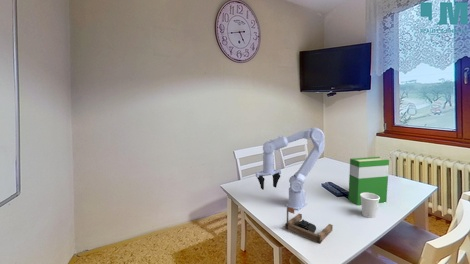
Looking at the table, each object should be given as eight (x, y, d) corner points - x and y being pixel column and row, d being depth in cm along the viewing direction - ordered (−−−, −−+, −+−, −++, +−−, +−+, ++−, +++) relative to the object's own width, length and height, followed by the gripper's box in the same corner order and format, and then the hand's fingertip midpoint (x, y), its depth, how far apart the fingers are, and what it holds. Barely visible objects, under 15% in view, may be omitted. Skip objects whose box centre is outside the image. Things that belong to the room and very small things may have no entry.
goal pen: (298, 218, 111) (299, 197, 110) (332, 230, 100) (333, 207, 99) (285, 228, 102) (285, 206, 101) (320, 243, 91) (320, 218, 90)
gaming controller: (291, 226, 103) (297, 214, 105) (296, 231, 105) (302, 220, 107) (310, 236, 95) (316, 223, 97) (315, 241, 98) (321, 228, 100)
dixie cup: (381, 220, 108) (383, 199, 106) (362, 218, 109) (363, 198, 108) (374, 211, 116) (375, 192, 114) (356, 210, 117) (357, 191, 116)
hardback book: (376, 197, 133) (378, 156, 130) (386, 202, 126) (389, 159, 123) (348, 199, 130) (350, 158, 127) (357, 205, 123) (359, 162, 120)
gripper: (259, 167, 118) (259, 192, 120) (284, 164, 123) (284, 188, 124) (253, 164, 124) (254, 188, 126) (277, 161, 129) (277, 184, 131)
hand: (268, 187), depth 126 cm, fingers open, 7 cm apart
